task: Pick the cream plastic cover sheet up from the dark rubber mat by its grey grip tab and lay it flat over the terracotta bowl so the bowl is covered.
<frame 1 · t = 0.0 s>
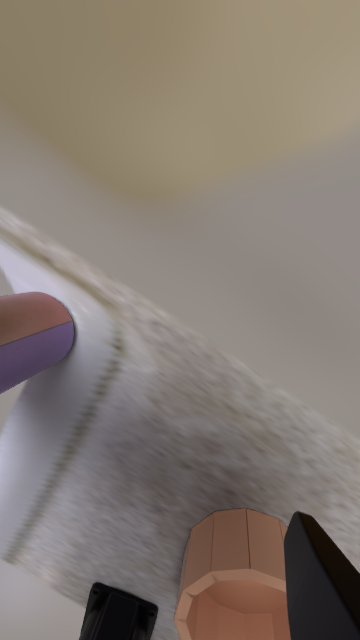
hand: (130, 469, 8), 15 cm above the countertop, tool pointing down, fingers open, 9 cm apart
beverage can: (45, 327, 25), on the countertop
bowl: (244, 561, 25), on the countertop
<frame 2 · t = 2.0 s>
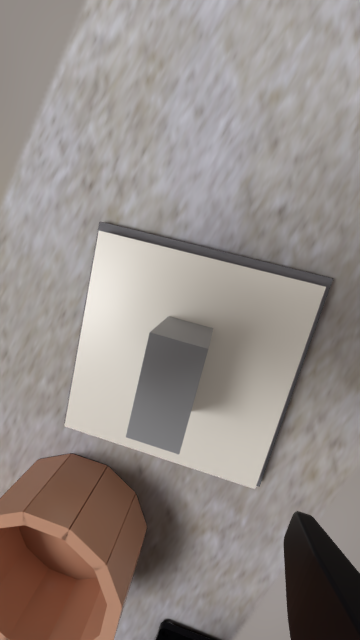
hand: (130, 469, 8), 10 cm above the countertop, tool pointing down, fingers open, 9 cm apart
mat: (183, 356, 18), on the countertop
cover sheet: (182, 359, 18), resting on mat
bowl: (77, 518, 22), on the countertop
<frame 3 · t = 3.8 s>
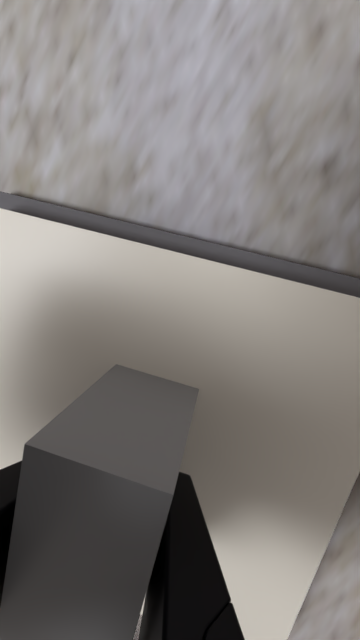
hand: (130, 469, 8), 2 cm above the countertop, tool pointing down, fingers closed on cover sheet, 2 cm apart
mat: (151, 425, 11), on the countertop
cover sheet: (147, 433, 10), resting on mat, touching gripper
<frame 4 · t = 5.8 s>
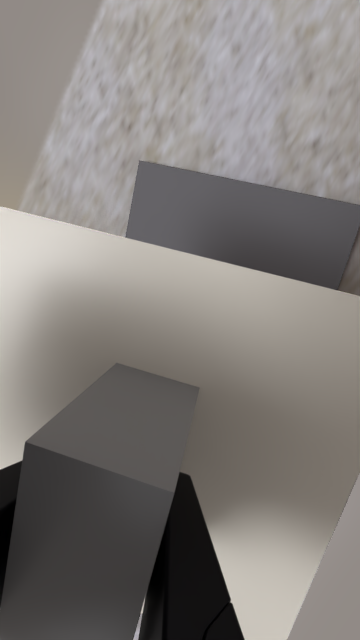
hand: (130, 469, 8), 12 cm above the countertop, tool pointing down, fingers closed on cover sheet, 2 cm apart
mat: (219, 293, 19), on the countertop
cover sheet: (148, 432, 10), point 10 cm above the countertop, touching gripper
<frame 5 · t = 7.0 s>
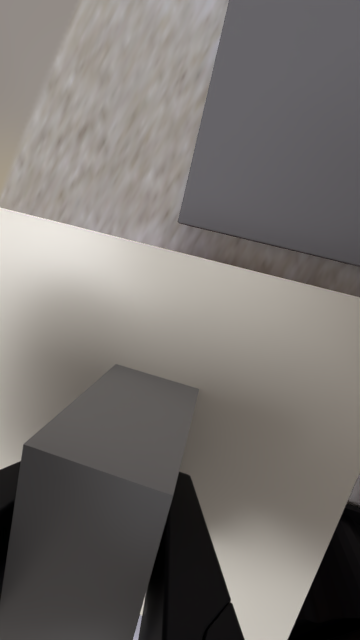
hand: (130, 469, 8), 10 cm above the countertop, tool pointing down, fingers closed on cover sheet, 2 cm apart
mat: (340, 116, 14), on the countertop
cover sheet: (147, 433, 10), point 8 cm above the countertop, touching gripper
when the fingers open (8 cm above the countertop, at t = 7.9 s): cover sheet stays where it is, resting on bowl.
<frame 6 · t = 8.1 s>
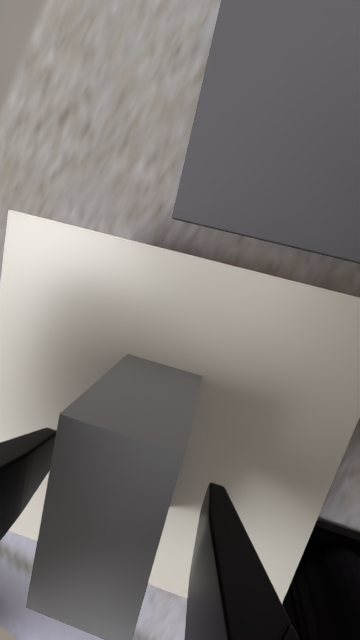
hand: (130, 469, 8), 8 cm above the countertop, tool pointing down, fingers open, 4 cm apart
mat: (359, 95, 12), on the countertop
cover sheet: (155, 418, 11), point 5 cm above the countertop, touching bowl
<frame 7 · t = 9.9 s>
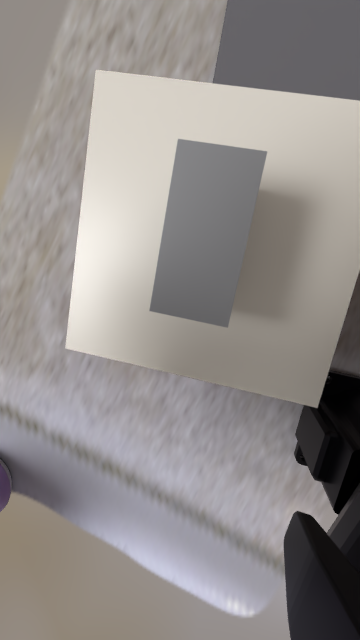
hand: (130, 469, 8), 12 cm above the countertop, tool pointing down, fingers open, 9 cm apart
cover sheet: (212, 247, 14), point 5 cm above the countertop, touching bowl
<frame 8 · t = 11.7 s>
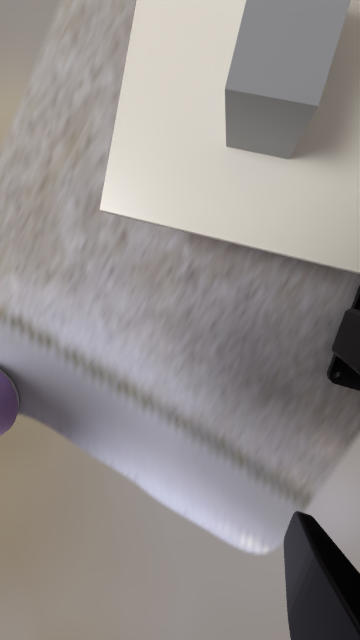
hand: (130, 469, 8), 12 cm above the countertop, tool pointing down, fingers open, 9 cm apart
cover sheet: (272, 96, 12), point 5 cm above the countertop, touching bowl
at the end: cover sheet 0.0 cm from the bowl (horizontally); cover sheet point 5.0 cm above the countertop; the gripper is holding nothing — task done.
